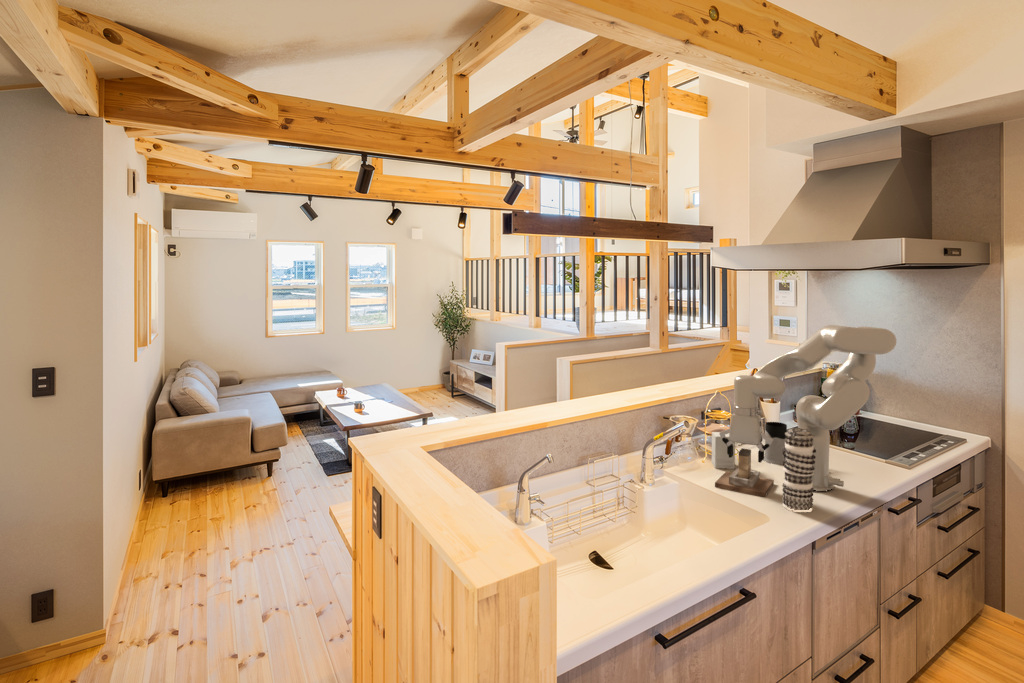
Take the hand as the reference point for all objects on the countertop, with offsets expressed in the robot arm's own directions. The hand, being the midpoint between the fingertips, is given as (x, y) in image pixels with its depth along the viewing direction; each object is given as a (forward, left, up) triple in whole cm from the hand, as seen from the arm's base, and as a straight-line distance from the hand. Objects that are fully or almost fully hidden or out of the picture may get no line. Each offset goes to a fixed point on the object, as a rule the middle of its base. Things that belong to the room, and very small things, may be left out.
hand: (745, 459), depth 177 cm
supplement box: (+12, -17, -10) cm, 23 cm away
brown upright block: (0, 0, -8) cm, 8 cm away
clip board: (0, 0, -10) cm, 10 cm away
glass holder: (-6, -35, -10) cm, 37 cm away
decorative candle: (-18, +10, -10) cm, 23 cm away
